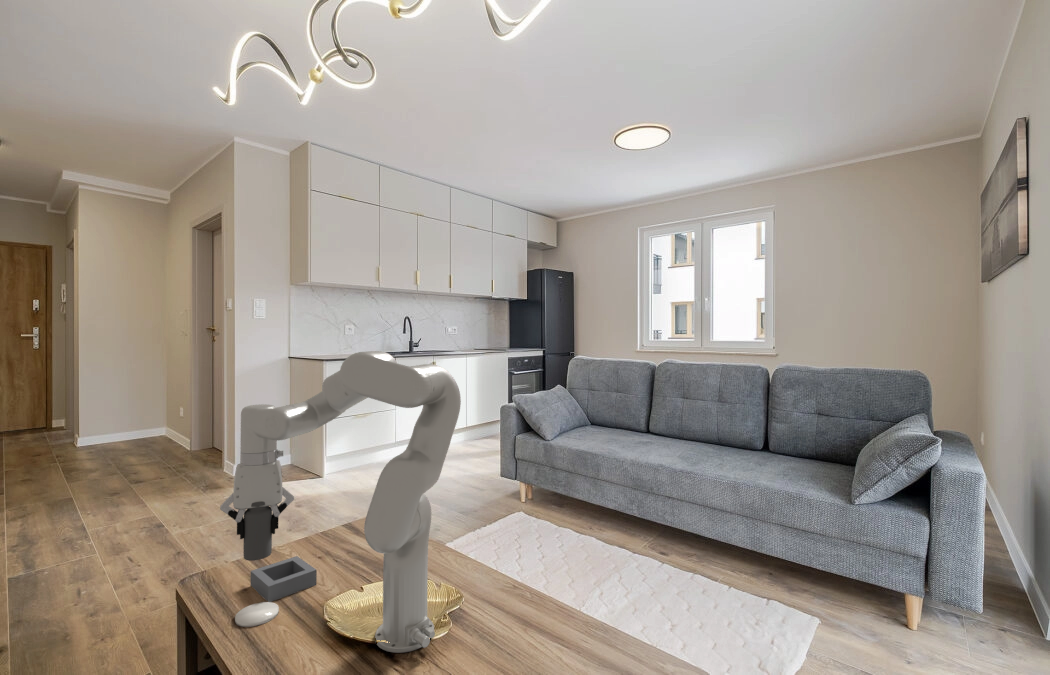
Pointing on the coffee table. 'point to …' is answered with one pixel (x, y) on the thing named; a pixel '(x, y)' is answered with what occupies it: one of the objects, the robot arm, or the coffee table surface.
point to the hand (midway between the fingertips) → (257, 533)
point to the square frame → (283, 578)
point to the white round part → (256, 614)
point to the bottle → (257, 532)
